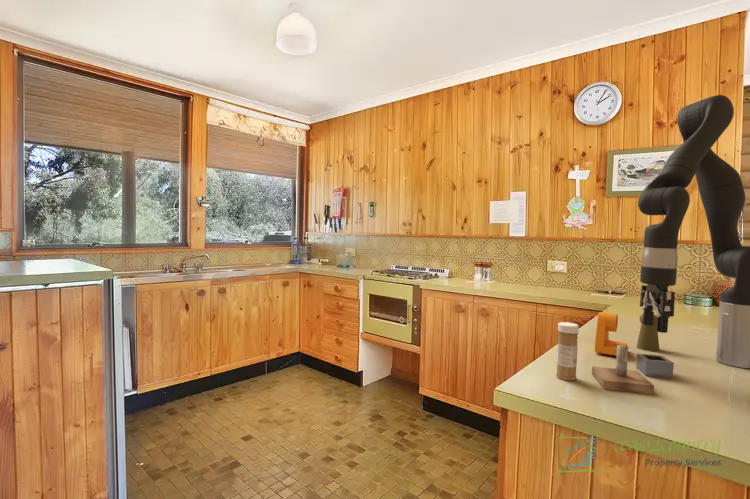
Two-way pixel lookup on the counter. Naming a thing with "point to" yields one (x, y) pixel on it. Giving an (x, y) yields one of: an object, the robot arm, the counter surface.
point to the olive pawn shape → (648, 336)
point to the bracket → (606, 334)
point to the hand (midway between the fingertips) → (654, 328)
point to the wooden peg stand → (622, 376)
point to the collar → (655, 365)
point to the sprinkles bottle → (567, 351)
